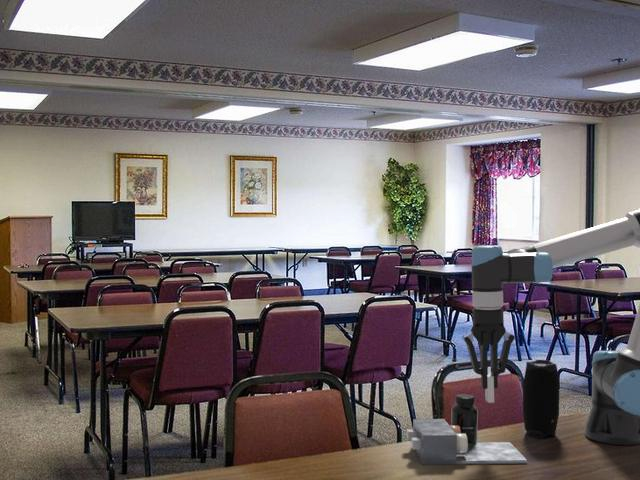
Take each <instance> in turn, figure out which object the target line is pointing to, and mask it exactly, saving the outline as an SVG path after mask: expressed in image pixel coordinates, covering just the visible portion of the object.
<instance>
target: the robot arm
mask: <svg viewBox="0 0 640 480" xmlns="http://www.w3.org/2000/svg"><path fill="white" fill-rule="evenodd" d="M633 246H635V247H637V248H639V249H640V208H639V209H636V210H633V211H630V212H626V214H625V215H624V217H623V218H619V219H615V220H613V221H609V222H606V223H602V224H599V225H596V226H593V227H589V228H586V229H582V230H579V231H575V232H572V233H568V234H565V235H562V236H558V237H555V238H552V239H548V240H546V241H541V242H538V243H535V244H532V245H528V246H525V247H521V248H513V249H512V248H511V249H510V250H508V251H506V252H504V251H503V247H502V246H500V245H477V246H474V247H473V248H472V250H471V266H470V267H471V288H472V291H471V292H472V307H474V308H473V309H472V327H471V330H470V332H469V333H467V334H466V335H465V334H464V335H463V336H462V340H463V341H464V343H465V344H466V347H467V350H468V354H469V358H470V362H471V366H472V369H473V372H474V373H475V374H476V375H480V385H481V388H482V389H483V390H485V391H484V392H485V394H484V397H485V398H484V399H485V401H486V402H487V403H489V404H490V403H491V404H493V403H495V389H498V387H499V383H498V382H499V381H498V379H499V378H498V377H499V376H500V374H505V373H506V369H507V365H508V360H509V356H510V355H509V354H510V351H511V347H512V346H511V345H512V343H513V342H514V340H515V338H516V336H515V335H514V334H512V333H510V332H508V331H507V329H506V327H505V326H504V324H505V323H504V320H505V319H504V308H503V306H504V284H535V283H536V284H540V283H549V282H551V280H552V279H553V274H554V273H553V272H554V269H556V268H560V267H563V266H567V265H571V264H573V263H577V262H580V261H583V260H586V259H590V258H595V257H597V256H601V255H605V254H608V253H611V252H616V251H618V250H622V249H625V248H628V247H633ZM637 308H638V309H637V312H636V315H635V319H634V322H633V325H632V329H631V332H630V334H629V339H628V342H627V345H626V346H625V347H622V348H621V349H620V350H597V351H595V352H594V353H593V355H592V360H591V367H592V373H591V375H592V377H591V379H592V380H591V381H592V383H591V408H590V410H589V413H588V415H587V418H586V421H585V424H584V436H585V437H587V438H588V439H589V440H593V441H595V442H598V443H605V444H609V445H617V446H634V445H635V446H636V445H640V304H639V305H638V307H637ZM474 338H475V340H476V341H477V343H478V344H479V359H480V360H478V357H477V352H476V348H475V346H474V343H473V342H474V341H475V340H474ZM502 339H503V340H504V341H503V342H502V347H501V351H500V357H499V356H498V354H499V352H498V349H499V343H500V341H501V340H502ZM488 346H489V347H488ZM488 349H489V351H490V352H489V353H490V355H489V356H490V373H489V371H488V370H489V368H488V366H489V365H488V364H489V363H488V361H489V360H488ZM479 362H480V364H479ZM488 373H489V374H488Z"/></svg>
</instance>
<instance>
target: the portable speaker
mask: <svg viewBox="0 0 640 480" xmlns="http://www.w3.org/2000/svg"><path fill="white" fill-rule="evenodd" d="M525 366H526V367H525V372H524V376H523V381H522V415H523V424H524V430H525V431H526V432H527V434H528V435H529V437H530V438H536V439H544V438H545V437H546V436H550V435H551V436H552V437H555V436H556V432H557V427H558V423H559V422H558V421H559V418H560V417H559V416H560V378H559V372H558V367H557V363H554V362H552V361H551V360H548V359H547V360H546V359H535V360H533V361H526V364H525Z"/></svg>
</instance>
